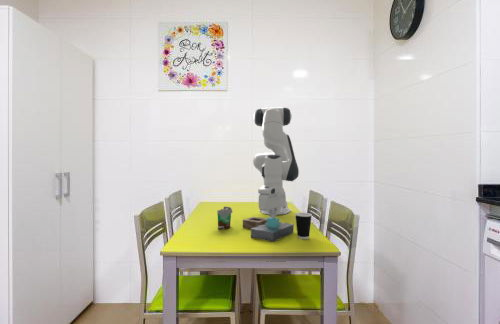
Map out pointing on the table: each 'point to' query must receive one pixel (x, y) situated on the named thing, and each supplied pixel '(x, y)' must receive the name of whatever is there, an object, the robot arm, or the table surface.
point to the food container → (224, 218)
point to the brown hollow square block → (253, 222)
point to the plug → (273, 222)
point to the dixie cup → (303, 224)
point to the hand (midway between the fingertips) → (273, 217)
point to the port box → (272, 231)
